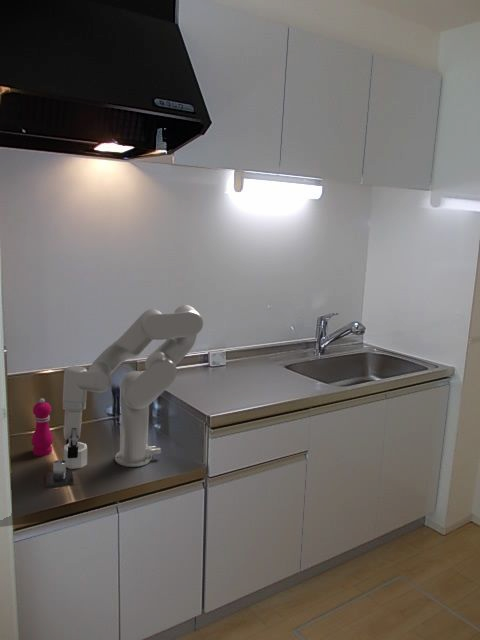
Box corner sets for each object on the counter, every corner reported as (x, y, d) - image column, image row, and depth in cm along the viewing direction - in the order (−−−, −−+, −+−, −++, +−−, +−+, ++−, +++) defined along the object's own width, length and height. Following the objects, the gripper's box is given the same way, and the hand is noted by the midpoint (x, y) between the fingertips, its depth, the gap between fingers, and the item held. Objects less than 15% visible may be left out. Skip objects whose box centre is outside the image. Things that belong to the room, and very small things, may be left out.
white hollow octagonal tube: (85, 457, 192) (85, 441, 191) (87, 467, 185) (87, 450, 184) (63, 459, 189) (63, 443, 188) (64, 469, 183) (64, 452, 181)
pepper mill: (57, 449, 196) (57, 396, 192) (44, 458, 189) (44, 403, 185) (40, 446, 198) (39, 393, 194) (27, 454, 191) (26, 400, 187)
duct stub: (71, 472, 181) (72, 455, 180) (73, 484, 173) (73, 467, 172) (46, 475, 178) (46, 458, 177) (46, 487, 171) (46, 469, 169)
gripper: (61, 394, 189) (59, 441, 193) (63, 413, 173) (61, 463, 177) (84, 394, 192) (81, 440, 195) (88, 412, 176) (85, 462, 179)
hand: (71, 451), depth 186 cm, fingers open, 9 cm apart
